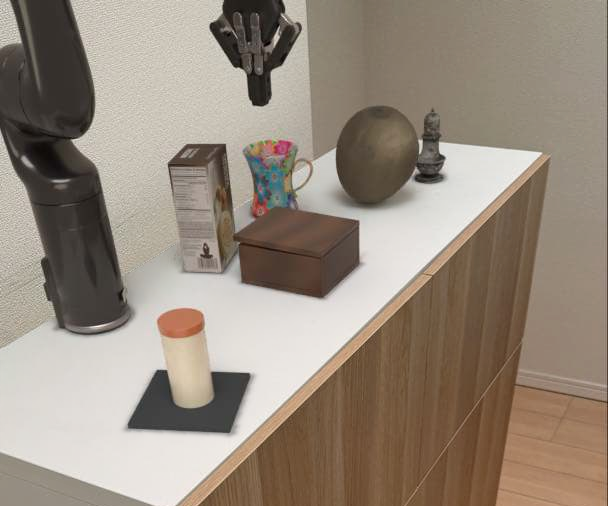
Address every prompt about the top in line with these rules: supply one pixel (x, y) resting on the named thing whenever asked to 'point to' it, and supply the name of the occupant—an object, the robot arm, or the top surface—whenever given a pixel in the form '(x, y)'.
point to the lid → (296, 231)
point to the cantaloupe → (376, 154)
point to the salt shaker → (430, 151)
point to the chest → (299, 267)
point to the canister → (186, 357)
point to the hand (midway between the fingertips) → (260, 104)
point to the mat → (211, 417)
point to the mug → (273, 174)
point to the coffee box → (203, 206)
